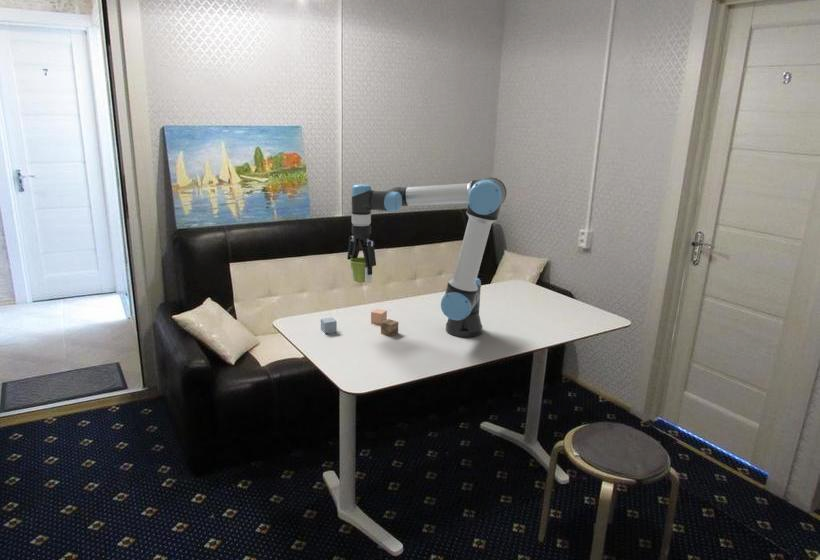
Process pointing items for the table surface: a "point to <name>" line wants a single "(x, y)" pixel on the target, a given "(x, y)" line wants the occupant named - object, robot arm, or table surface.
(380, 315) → the terracotta cube
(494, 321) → the table surface
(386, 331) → the walnut cube
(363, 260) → the plant pot
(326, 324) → the slate grey cube
